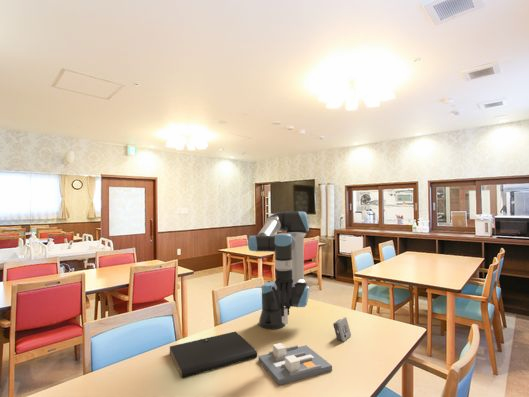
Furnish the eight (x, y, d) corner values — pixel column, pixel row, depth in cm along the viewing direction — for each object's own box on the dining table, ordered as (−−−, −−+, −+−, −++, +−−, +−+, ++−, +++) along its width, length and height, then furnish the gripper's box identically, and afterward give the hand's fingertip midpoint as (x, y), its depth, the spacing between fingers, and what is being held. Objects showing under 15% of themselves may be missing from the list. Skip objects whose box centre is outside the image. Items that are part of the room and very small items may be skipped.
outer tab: (285, 367, 122) (284, 356, 122) (293, 364, 123) (293, 354, 123) (291, 373, 117) (290, 362, 117) (300, 370, 119) (299, 360, 119)
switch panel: (258, 360, 131) (258, 353, 132) (306, 349, 141) (306, 343, 141) (278, 385, 113) (278, 377, 113) (332, 370, 123) (331, 362, 123)
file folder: (235, 330, 155) (257, 350, 134) (235, 338, 155) (257, 359, 134) (169, 345, 139) (182, 370, 118) (169, 354, 139) (182, 381, 118)
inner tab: (273, 353, 133) (272, 344, 133) (281, 351, 134) (281, 342, 134) (278, 359, 128) (277, 349, 128) (286, 357, 130) (286, 347, 130)
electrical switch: (343, 342, 148) (341, 322, 149) (334, 340, 151) (332, 321, 152) (351, 336, 155) (349, 317, 156) (342, 334, 158) (340, 316, 159)
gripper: (273, 272, 127) (275, 328, 127) (300, 269, 132) (302, 323, 132) (266, 268, 134) (267, 322, 134) (292, 265, 139) (293, 317, 139)
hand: (284, 322), depth 133 cm, fingers closed
